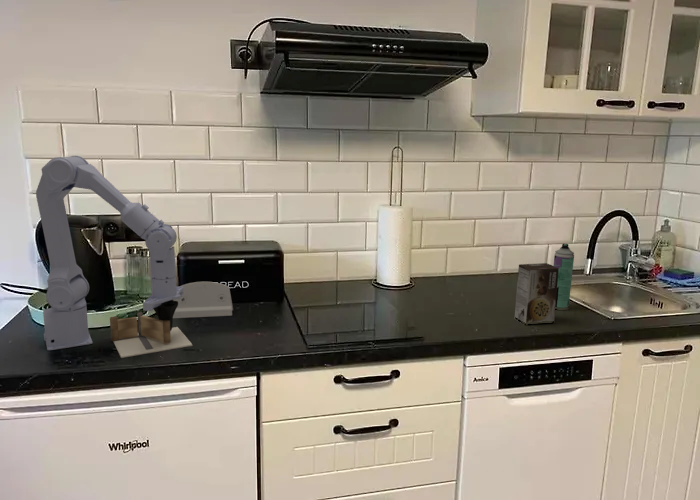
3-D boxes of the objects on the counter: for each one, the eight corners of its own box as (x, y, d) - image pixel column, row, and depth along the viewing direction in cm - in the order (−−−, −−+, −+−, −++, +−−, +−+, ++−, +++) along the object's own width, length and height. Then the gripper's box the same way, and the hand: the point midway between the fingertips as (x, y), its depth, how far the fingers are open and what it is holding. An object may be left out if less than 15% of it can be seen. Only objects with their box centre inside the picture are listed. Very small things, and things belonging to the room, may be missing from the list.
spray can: (564, 305, 172) (571, 242, 168) (571, 311, 167) (578, 246, 163) (546, 305, 172) (553, 242, 168) (552, 310, 167) (559, 245, 163)
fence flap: (136, 335, 137) (135, 313, 136) (142, 333, 138) (141, 311, 137) (166, 344, 131) (165, 321, 130) (172, 342, 133) (171, 320, 132)
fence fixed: (111, 341, 133) (110, 319, 132) (110, 339, 134) (109, 317, 133) (138, 337, 136) (136, 315, 135) (136, 335, 138) (135, 313, 136)
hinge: (171, 318, 152) (170, 281, 153) (172, 318, 156) (172, 283, 158) (233, 315, 155) (232, 279, 157) (233, 315, 160) (232, 281, 161)
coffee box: (541, 316, 161) (546, 262, 158) (554, 324, 155) (560, 267, 152) (513, 318, 159) (518, 263, 156) (525, 325, 153) (530, 269, 149)
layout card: (121, 357, 124) (121, 356, 124) (111, 338, 136) (111, 336, 136) (192, 345, 133) (192, 344, 132) (177, 328, 144) (177, 326, 144)
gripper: (161, 285, 124) (164, 343, 127) (194, 270, 138) (196, 322, 140) (133, 283, 125) (136, 339, 128) (168, 268, 139) (171, 320, 142)
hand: (166, 330), depth 134 cm, fingers closed, pressing on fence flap
